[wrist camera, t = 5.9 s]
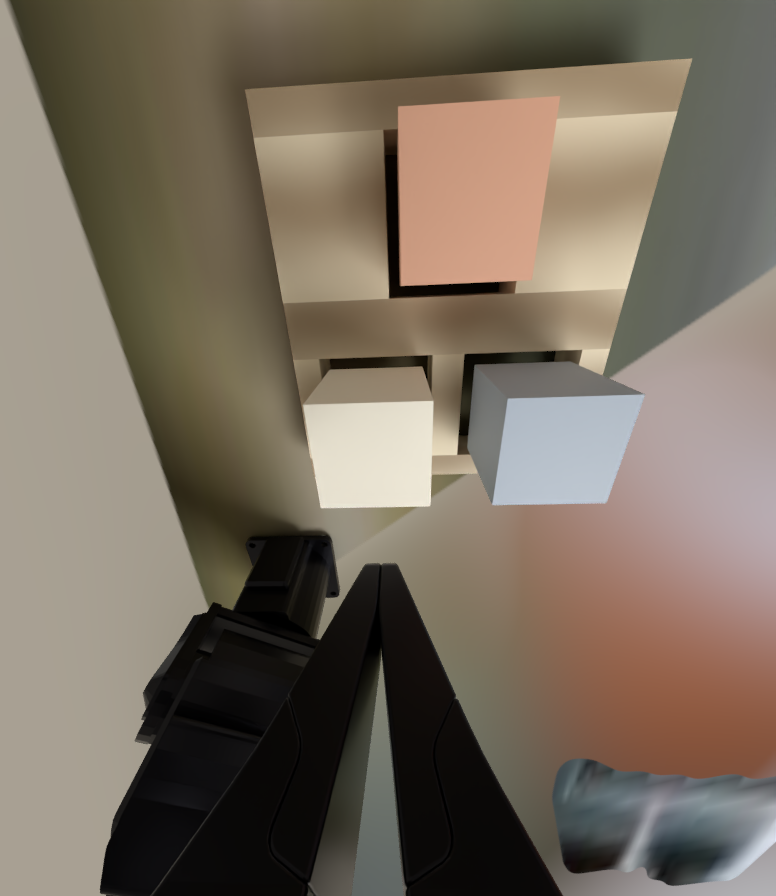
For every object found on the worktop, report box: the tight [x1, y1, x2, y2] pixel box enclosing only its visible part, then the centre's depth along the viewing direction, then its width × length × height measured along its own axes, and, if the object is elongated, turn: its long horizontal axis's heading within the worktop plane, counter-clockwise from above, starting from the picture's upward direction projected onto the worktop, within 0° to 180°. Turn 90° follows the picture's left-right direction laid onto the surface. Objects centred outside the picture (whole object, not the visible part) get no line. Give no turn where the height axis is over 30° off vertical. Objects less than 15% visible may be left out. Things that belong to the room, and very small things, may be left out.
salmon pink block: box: [397, 96, 560, 286], centre depth 12 cm, size 4×4×5 cm
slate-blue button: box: [467, 361, 645, 505], centre depth 14 cm, size 4×4×5 cm
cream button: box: [303, 366, 434, 508], centre depth 14 cm, size 4×4×5 cm
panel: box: [245, 59, 692, 477], centre depth 15 cm, size 16×15×2 cm
